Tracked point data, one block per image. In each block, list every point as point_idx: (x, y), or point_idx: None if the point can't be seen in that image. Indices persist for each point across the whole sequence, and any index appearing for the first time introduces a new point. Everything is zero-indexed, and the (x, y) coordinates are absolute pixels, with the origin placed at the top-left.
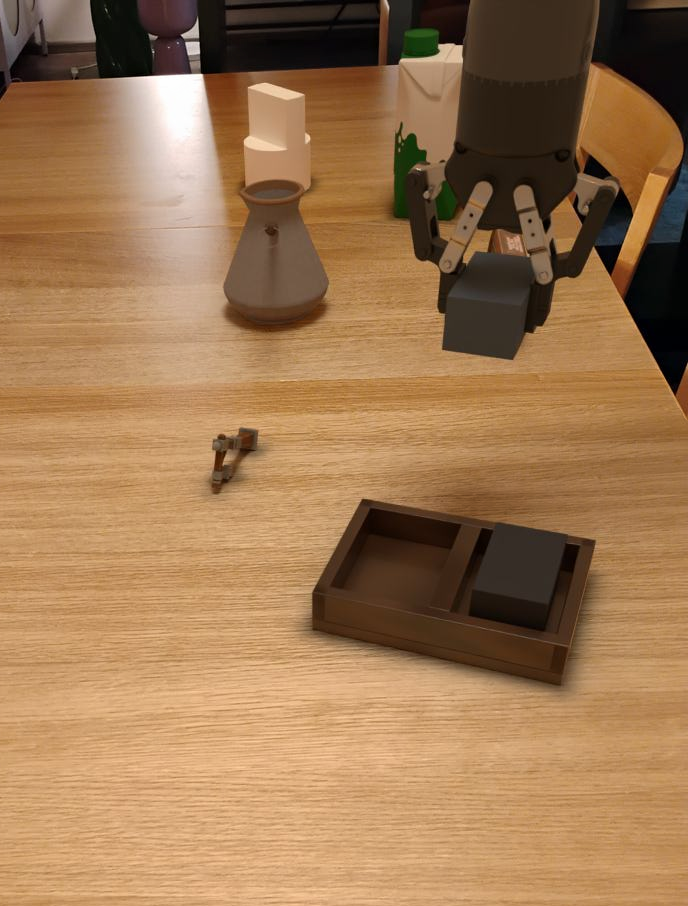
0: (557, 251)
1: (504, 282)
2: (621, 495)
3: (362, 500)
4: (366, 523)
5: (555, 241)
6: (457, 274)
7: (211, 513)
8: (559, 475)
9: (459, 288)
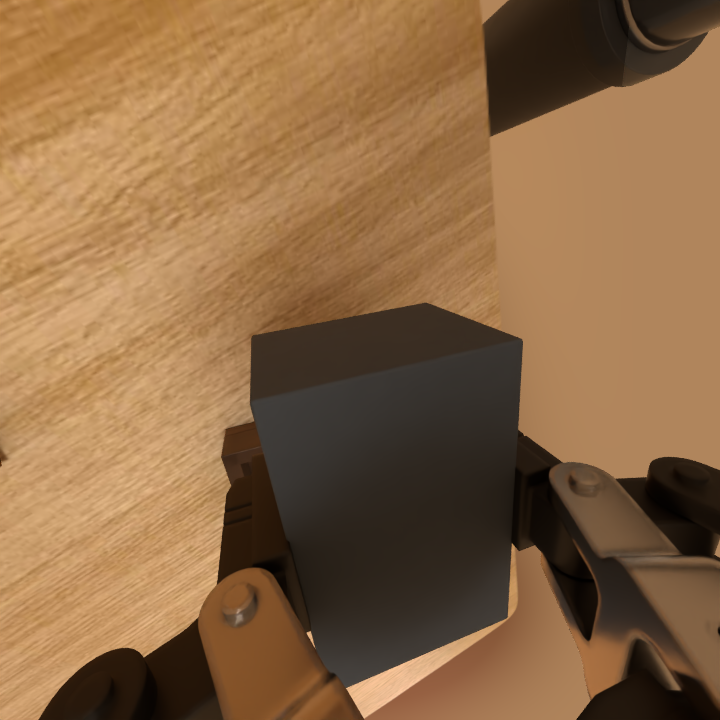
0: (637, 508)
1: (444, 558)
2: (443, 229)
3: (224, 459)
4: (245, 471)
5: (665, 538)
6: (305, 630)
7: (37, 489)
8: (374, 217)
9: (341, 655)
